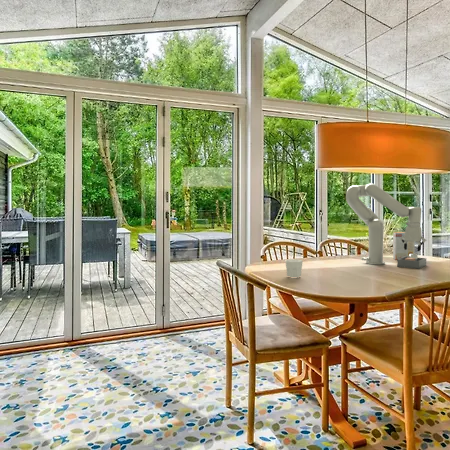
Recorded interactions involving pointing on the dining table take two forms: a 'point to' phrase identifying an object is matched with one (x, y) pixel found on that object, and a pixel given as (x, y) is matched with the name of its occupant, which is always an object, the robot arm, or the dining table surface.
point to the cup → (294, 267)
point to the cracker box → (401, 246)
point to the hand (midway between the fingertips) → (412, 250)
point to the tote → (411, 263)
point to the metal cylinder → (414, 256)
